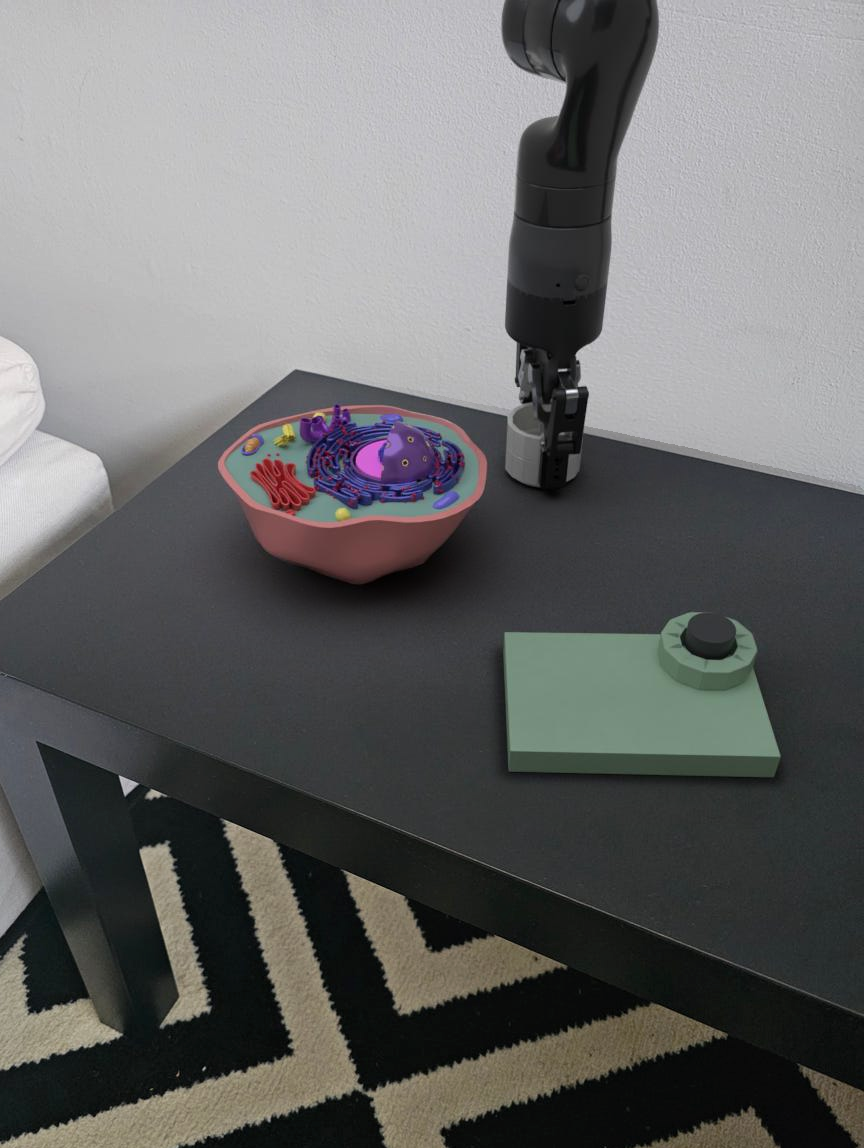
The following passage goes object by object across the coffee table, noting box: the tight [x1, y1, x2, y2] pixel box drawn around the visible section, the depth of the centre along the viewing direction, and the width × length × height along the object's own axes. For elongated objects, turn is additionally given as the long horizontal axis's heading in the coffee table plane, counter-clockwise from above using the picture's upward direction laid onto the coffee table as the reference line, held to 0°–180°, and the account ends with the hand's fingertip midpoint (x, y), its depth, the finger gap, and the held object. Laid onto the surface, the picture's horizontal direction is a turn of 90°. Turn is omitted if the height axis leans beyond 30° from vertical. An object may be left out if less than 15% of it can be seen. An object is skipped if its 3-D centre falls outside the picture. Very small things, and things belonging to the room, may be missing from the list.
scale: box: [502, 611, 782, 778], centre depth 67 cm, size 16×12×4 cm
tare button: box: [684, 612, 736, 660], centre depth 67 cm, size 3×3×2 cm
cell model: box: [217, 403, 488, 586], centre depth 78 cm, size 17×20×11 cm
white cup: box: [504, 402, 586, 488], centre depth 88 cm, size 6×6×5 cm
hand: (541, 463), depth 89 cm, fingers closed on white cup, 6 cm apart
